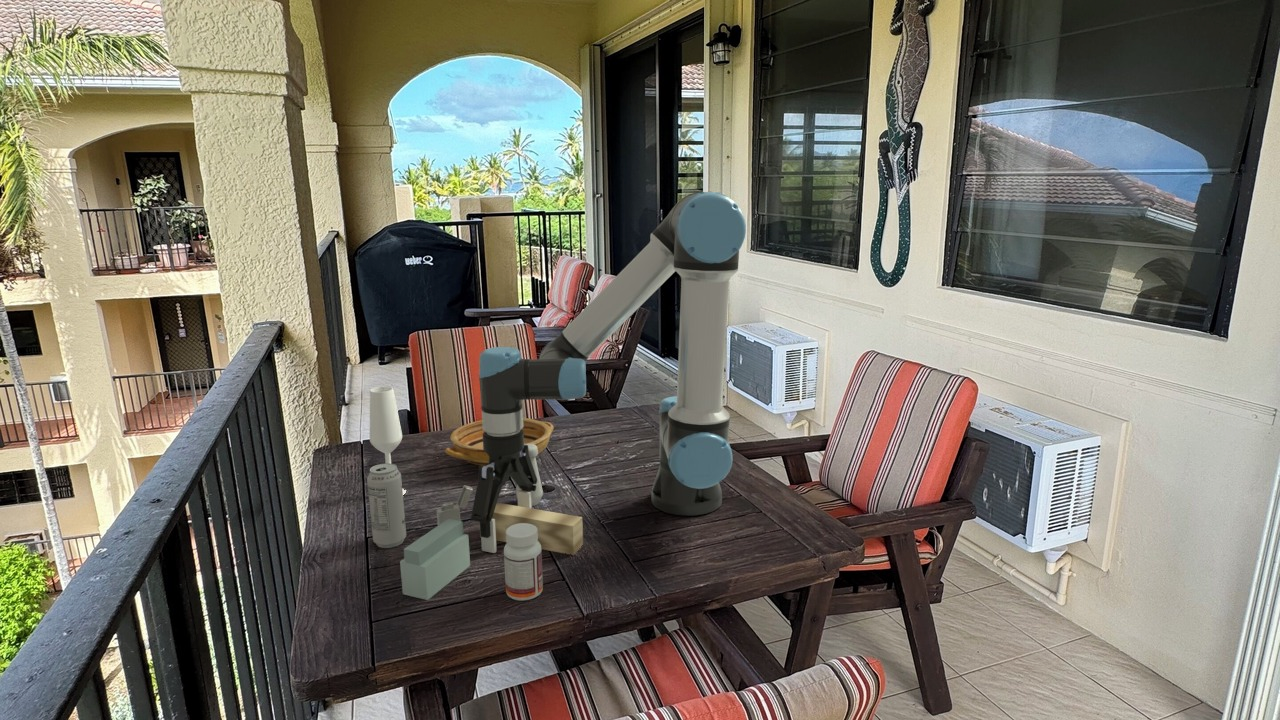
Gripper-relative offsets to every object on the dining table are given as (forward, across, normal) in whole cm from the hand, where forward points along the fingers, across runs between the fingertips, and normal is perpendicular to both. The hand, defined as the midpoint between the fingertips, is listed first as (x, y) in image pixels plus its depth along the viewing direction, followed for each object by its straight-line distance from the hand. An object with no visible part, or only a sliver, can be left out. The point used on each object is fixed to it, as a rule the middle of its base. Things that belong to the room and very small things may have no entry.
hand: (508, 535), depth 140 cm
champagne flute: (0, -8, -35) cm, 36 cm away
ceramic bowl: (0, -33, -22) cm, 40 cm away
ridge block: (0, +18, -3) cm, 18 cm away
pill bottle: (0, +16, +13) cm, 21 cm away
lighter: (0, 0, -12) cm, 12 cm away
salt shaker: (0, -15, -4) cm, 16 cm away
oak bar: (0, 0, +5) cm, 5 cm away
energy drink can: (0, +10, -20) cm, 22 cm away
